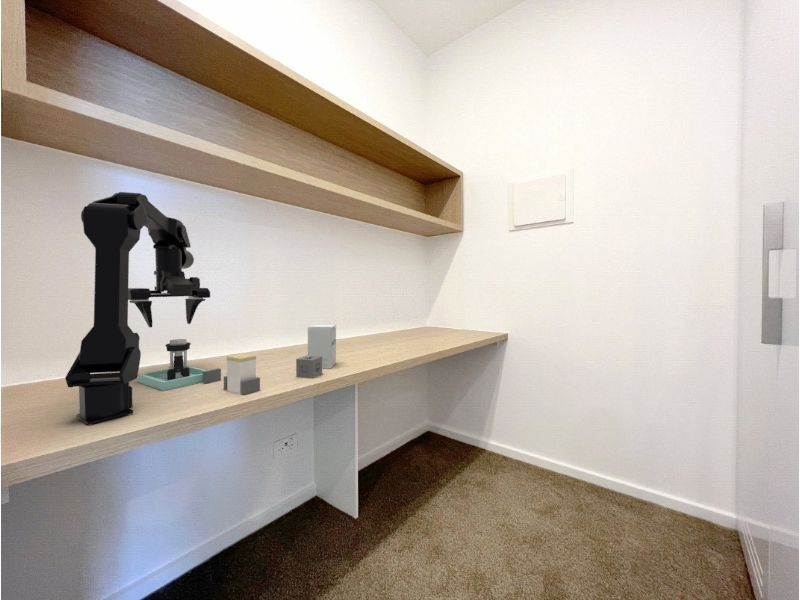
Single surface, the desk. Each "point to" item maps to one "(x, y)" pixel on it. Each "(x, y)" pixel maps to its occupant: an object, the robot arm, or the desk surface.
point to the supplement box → (323, 344)
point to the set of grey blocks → (215, 375)
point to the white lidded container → (239, 370)
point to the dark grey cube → (309, 366)
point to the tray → (164, 384)
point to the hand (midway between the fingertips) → (170, 325)
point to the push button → (178, 359)
